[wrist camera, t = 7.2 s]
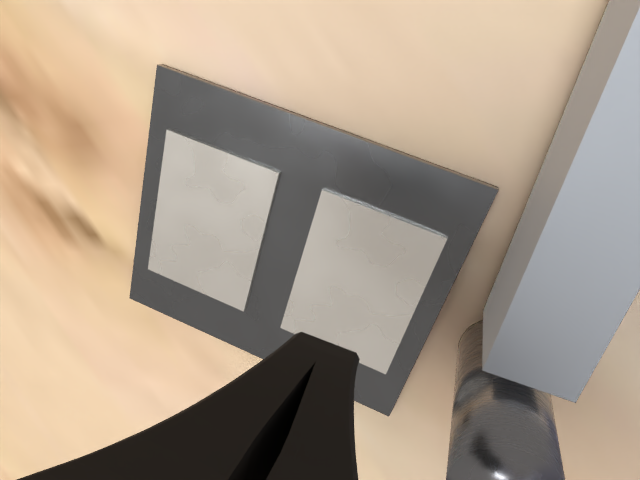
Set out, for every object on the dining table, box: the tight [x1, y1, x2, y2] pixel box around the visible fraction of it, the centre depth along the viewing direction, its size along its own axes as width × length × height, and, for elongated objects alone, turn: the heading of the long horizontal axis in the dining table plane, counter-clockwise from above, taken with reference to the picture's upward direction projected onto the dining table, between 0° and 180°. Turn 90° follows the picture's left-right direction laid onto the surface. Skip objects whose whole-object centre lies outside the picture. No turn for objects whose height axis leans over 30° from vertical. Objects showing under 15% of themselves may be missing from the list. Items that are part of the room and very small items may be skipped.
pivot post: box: [446, 321, 565, 480], centre depth 15 cm, size 3×3×6 cm
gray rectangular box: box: [482, 0, 640, 403], centre depth 12 cm, size 12×2×3 cm, turn 167°
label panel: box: [130, 64, 498, 416], centre depth 18 cm, size 12×10×1 cm
